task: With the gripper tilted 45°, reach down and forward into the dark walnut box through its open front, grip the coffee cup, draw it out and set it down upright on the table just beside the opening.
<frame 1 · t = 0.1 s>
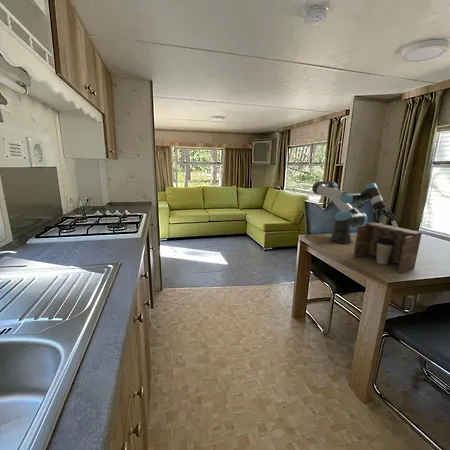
hand: (389, 230, 176), 15 cm above the table, tool tilted 35°, fingers open, 13 cm apart
coffee cup: (381, 263, 158), resting in walnut box
walnut box: (381, 262, 157), on the table
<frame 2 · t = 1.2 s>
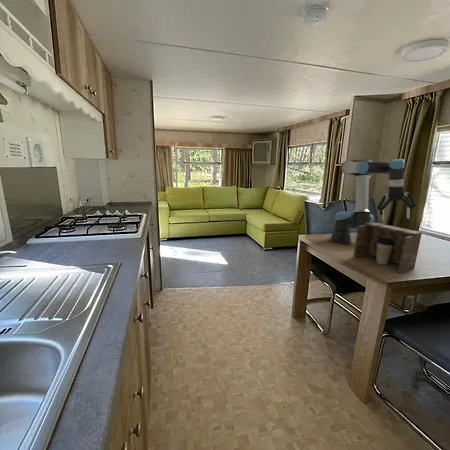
hand: (395, 218, 159), 26 cm above the table, tool pointing down, fingers open, 13 cm apart
nothing on the table moved.
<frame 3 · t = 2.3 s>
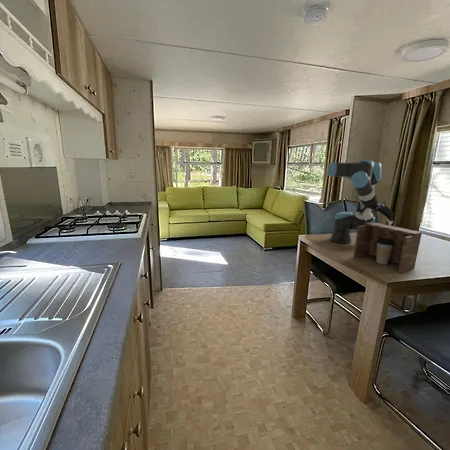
hand: (378, 221, 145), 28 cm above the table, tool tilted 45°, fingers open, 13 cm apart
nothing on the table moved.
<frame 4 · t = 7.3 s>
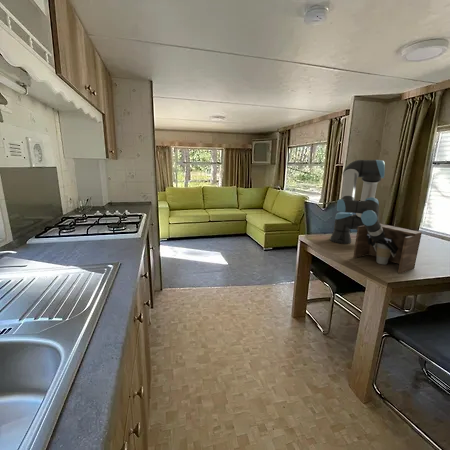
hand: (386, 253, 158), 6 cm above the table, tool tilted 45°, fingers closed on coffee cup, 9 cm apart
coffee cup: (381, 263, 158), resting in walnut box, touching gripper
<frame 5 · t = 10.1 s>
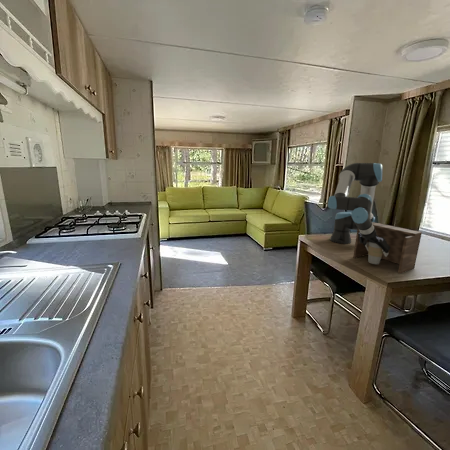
hand: (378, 252, 152), 8 cm above the table, tool tilted 45°, fingers closed on coffee cup, 9 cm apart
coffee cup: (373, 262, 152), point 2 cm above the table, touching gripper
when the fingers open (7 cm above the table, at t = 13.2 s): coffee cup drops 1 cm, on the table.
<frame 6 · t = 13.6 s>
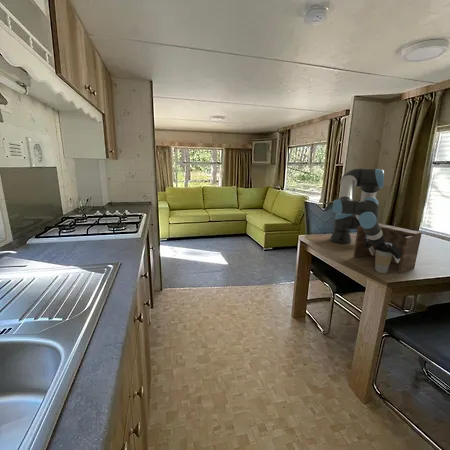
hand: (385, 257, 144), 8 cm above the table, tool tilted 45°, fingers open, 13 cm apart
coffee cup: (380, 271, 145), on the table
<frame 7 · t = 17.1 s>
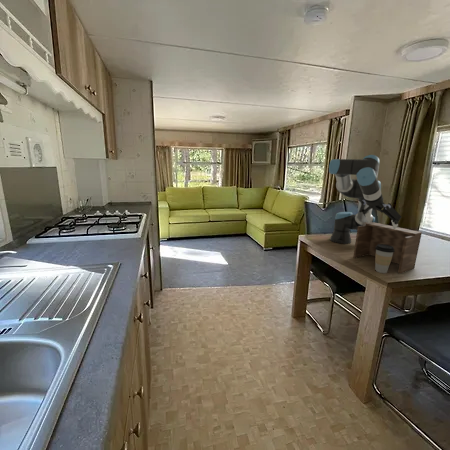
hand: (382, 223, 134), 29 cm above the table, tool tilted 45°, fingers open, 13 cm apart
nothing on the table moved.
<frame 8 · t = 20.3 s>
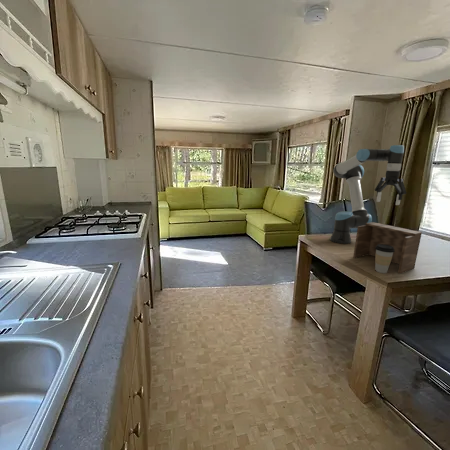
hand: (387, 203, 167), 35 cm above the table, tool pointing down, fingers open, 13 cm apart
nothing on the table moved.
at the end: coffee cup inside the target area (0.5 cm from its centre), on the table; coffee cup tilted 0°; the gripper is holding nothing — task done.
